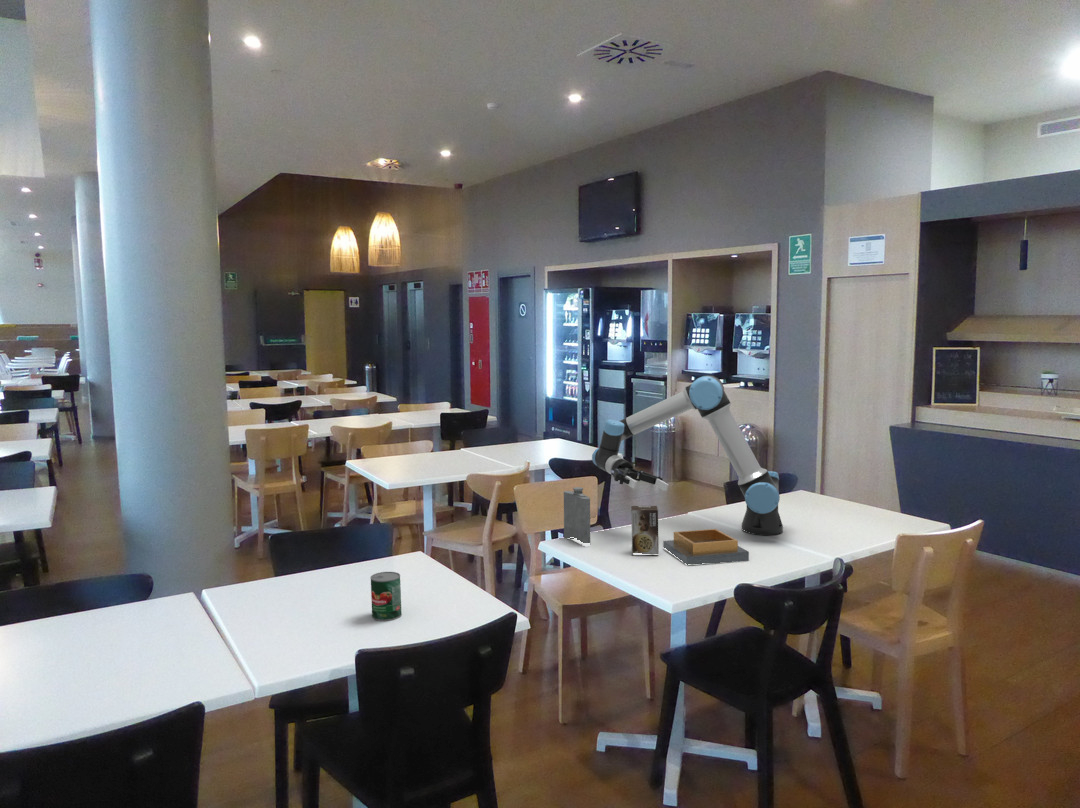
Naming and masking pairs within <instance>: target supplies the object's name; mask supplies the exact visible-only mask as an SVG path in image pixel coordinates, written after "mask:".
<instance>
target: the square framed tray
mask: <svg viewBox="0 0 1080 808" xmlns="http://www.w3.org/2000/svg"><path fill="white" fill-rule="evenodd" d="M662 547H664V548H666V549H667V550H668V551H670V552H671V553H672V554H674V555H675V556H676V557H678V558H679V559H680V560H682V561H683V562H684V563H686V564H687V565H688V564H702V563H715V564H721V563H720V562H727V563H733V562H732V561H738V562H747V561H750V552H749V550H746V549H744V548H743V547H741V546H739V541H738V539H736V538H734V537H732V536H730V535H728V534H726V533H725V532H723V531H721V530H719V529H717V528H710V529H708V528H707V529H696V530H685V531H684V530H682V531H673V539H672V540H671V539H669V540H663V546H662ZM684 563H683V564H684Z"/></svg>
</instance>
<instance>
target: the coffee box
mask: <svg viewBox="0 0 1080 808" xmlns="http://www.w3.org/2000/svg"><path fill="white" fill-rule="evenodd" d="M630 512H631V554H632V553H642V554H659V548H660V547H659V507H658V506H657V505H631V510H630ZM659 555H660V554H659Z"/></svg>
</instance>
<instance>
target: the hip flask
mask: <svg viewBox="0 0 1080 808" xmlns="http://www.w3.org/2000/svg"><path fill="white" fill-rule="evenodd" d="M583 490H584V487H581V486H579V487H577V486H576V487H573V488H572V490H564V491H563V538H564V539H565V538H570V537H574V538H577V540H580V541H581V542H583V543H590V544H591V497H590V496H588V495H586V494H584V492H583ZM574 538H570V539H574Z"/></svg>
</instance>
